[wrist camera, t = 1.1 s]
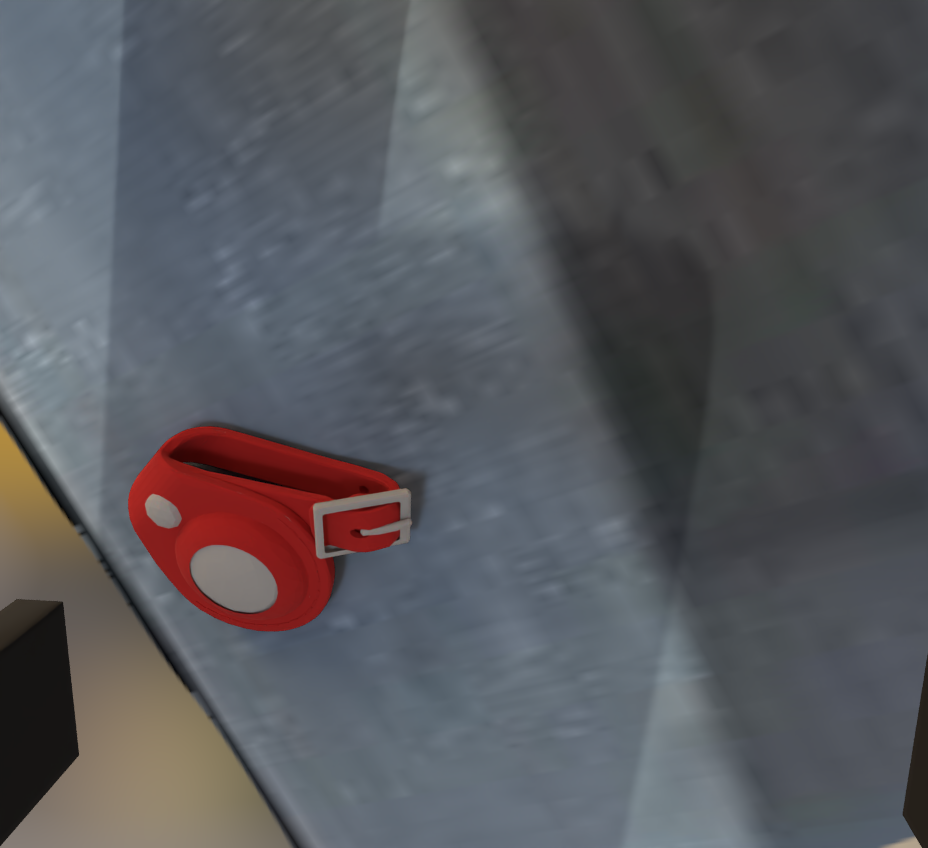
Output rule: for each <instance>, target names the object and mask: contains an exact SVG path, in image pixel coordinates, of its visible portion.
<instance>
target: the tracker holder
mask: <svg viewBox="0 0 928 848" xmlns="http://www.w3.org/2000/svg"><path fill="white" fill-rule="evenodd" d="M183 462H194V463H200V464H206V465H210V466H214V467H218V468H221V469H225V470H229V471H232V472H236V473H240V474H243V475H247V476H251V477H254V478H258V479H262V480H265V481H269V482H273V483H276V484H280V485H284V486H287V487H291V488H295V489H291V488H286V487H282V486H277V485H272V484H267V483H263V482H258V481H253V480H248V479H244V478H239V477H234V476H229V475H225V474H220V473H215V472H210V471H206V470H203V469H200V468H197V467H194V466H191V465H188V464H185V463H183ZM296 489H298V490H296ZM301 490H302V491H301ZM305 491H306V492H305ZM334 499H335V500H334ZM128 509H129V516H130V520H131V523H132V525H133V528H134V530H135V532H136V533H137V535H138V537H139V538H140V540H141V541H142V543H143V544H144V546H145V547H146V549H147V550H148V552H149V553H150V555H151V556H152V558H153V559H154V561H155V562H156V564H157V565H158V566H159V567H160V569H161V570H162V571H163V572H164V574H165V575H166V576H167V578H168V579H169V580H170V581H171V582H172V583H173V585H174V586H175V587H176V588H177V589H178V590H179V591H180V592H181V594H182V595H183V596H184V597H186V598H187V599H188V600H189V601H190V602H191V603H192V604H194V605H195V606H196V607H198V608H199V609H200V610H202V611H204V612H206V613H207V614H209V615H211V616H213V617H214V618H217V619H219V620H221V621H224V622H226V623H228V624H232V625H235V626H239V627H243V628H246V629H252V630H257V631H284V630H290V629H294V628H297V627H300V626H303V625H305V624H306V623H308V622H310V621H311V620H313V619H315V618H316V617H317V616H318V615H319V614H320V613H321V612H322V610H323V609H324V607H325V606H326V604H327V602H328V600H329V598H330V596H331V592H332V588H333V583H334V578H335V566H334V560H333V557H334V556H339V555H345V554H350V553H356V552H370V551H375V550H379V549H382V548H386V547H389V546H393V545H399V544H404V543H408V542H409V541H410V526H411V525H412V520H411V519H410V517H411V492H410V490H408V489H407V488H404V489H400V488H399V485H398V484H397V482H395V481H394V480H393V479H391V478H389V477H388V476H386V475H385V474H383V473H380V472H377V471H374V470H371V469H367V468H364V467H360V466H357V465H354V464H350V463H346V462H342V461H338V460H335V459H331V458H327V457H324V456H320V455H317V454H313V453H310V452H306V451H303V450H299V449H296V448H292V447H289V446H285V445H282V444H278V443H275V442H271V441H268V440H264V439H261V438H257V437H254V436H251V435H247V434H244V433H240V432H237V431H233V430H230V429H226V428H219V427H212V426H208V427H196V428H191V429H187V430H184V431H182V432H180V433H178V434H176V435H174V436H173V437H172V438H170V439H169V440H168V441H166V442H165V443H164V444H163V445H162V447H161V448H160V449H159V450H158V451H157V453H156V454H155V455H154V456H153V458H152V459H151V460H150V461H149V462H148V464H147V465H146V466H145V467H144V469H143V470H142V471H141V472H140V473H139V475H138V476H137V478H136V480H135V482H134V483H133V485H132V487H131V490H130V493H129V499H128Z"/></svg>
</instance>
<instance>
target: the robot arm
mask: <svg viewBox="0 0 928 848" xmlns="http://www.w3.org/2000/svg"><path fill="white" fill-rule="evenodd" d="M70 675H71V674H70V665H69V656H68V645H67V636H66V626H65V617H64V607H63V602H58V601H40V600H22V599H16V600H15V601H14V602H12V603H11V604H10V605H8V606H7V607H5V608H4V609H3V610H1V611H0V846H1V845H2V844H3V842H4V841H5V840H6V839H7V838H8V836H9V835H10V834H11V833H12V832H13V831H14V830H15V829H16V827H17V826H18V825H19V824H20V822H22V820H23V819H24V818H25V817H26V816H27V815H28V813H29V812H30V811H31V810H32V809H33V808H34V806H35V805H36V804H37V803H38V802H39V801H40V800H41V798H42V797H43V796H44V795H45V794H46V793H47V792H48V790H49V789H50V788H51V787H52V786H53V785H54V783H55V782H56V781H57V780H58V779H59V778H60V776H61V775H62V774H63V773H64V772H65V771H66V770H67V768H68V767H69V766H70V765H71V764H72V763H73V761H74V760H75V759H76V758H77V757H78V756H79V750H78V742H77V733H76V732H77V731H76V721H75V712H74V703H73V693H72V683H71V676H70ZM903 816H904V818H905V820H906V821H907V823H908V825H909V827H910V828H911V830H912V832H913V833H914V835H915V837H916V838H917V840H918V842H919V843H920V845H921V847H922V848H928V655H927V662H926V668H925V675H924V681H923V687H922V694H921V700H920V706H919V713H918V719H917V726H916V732H915V738H914V745H913V751H912V758H911V764H910V770H909V777H908V783H907V789H906V796H905V802H904V809H903Z"/></svg>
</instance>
